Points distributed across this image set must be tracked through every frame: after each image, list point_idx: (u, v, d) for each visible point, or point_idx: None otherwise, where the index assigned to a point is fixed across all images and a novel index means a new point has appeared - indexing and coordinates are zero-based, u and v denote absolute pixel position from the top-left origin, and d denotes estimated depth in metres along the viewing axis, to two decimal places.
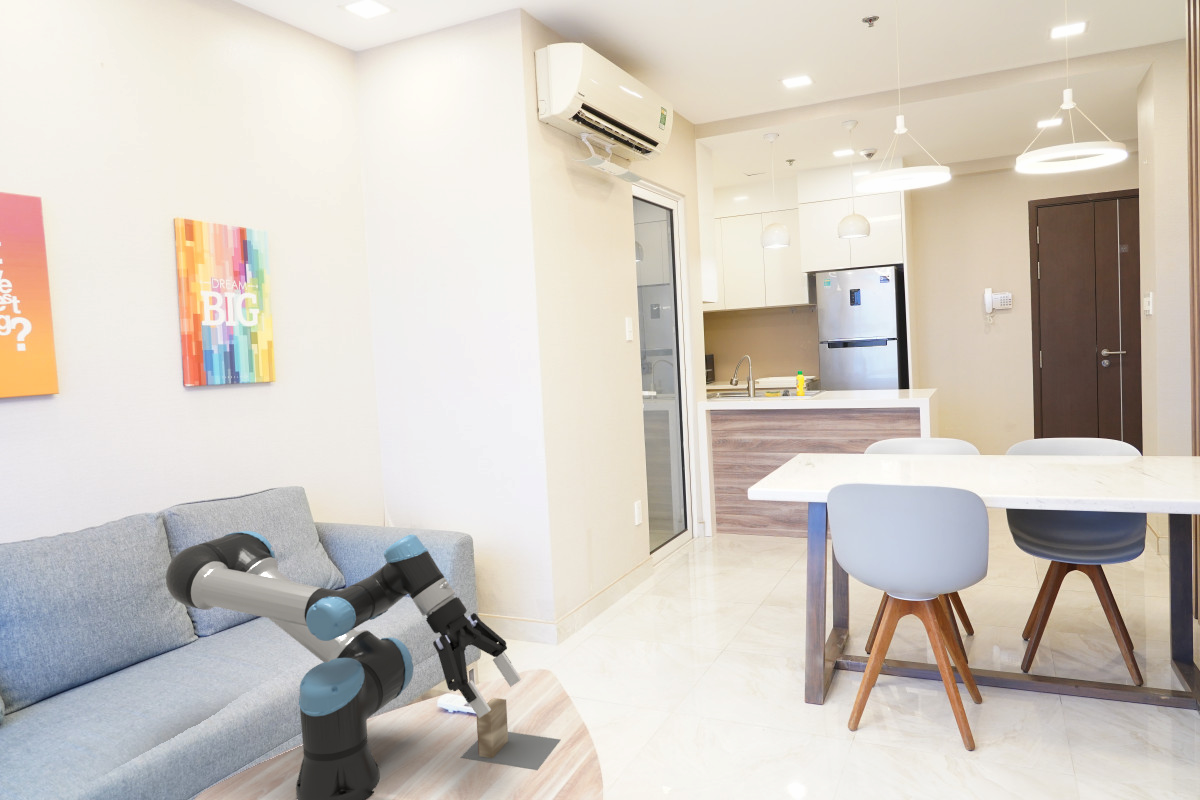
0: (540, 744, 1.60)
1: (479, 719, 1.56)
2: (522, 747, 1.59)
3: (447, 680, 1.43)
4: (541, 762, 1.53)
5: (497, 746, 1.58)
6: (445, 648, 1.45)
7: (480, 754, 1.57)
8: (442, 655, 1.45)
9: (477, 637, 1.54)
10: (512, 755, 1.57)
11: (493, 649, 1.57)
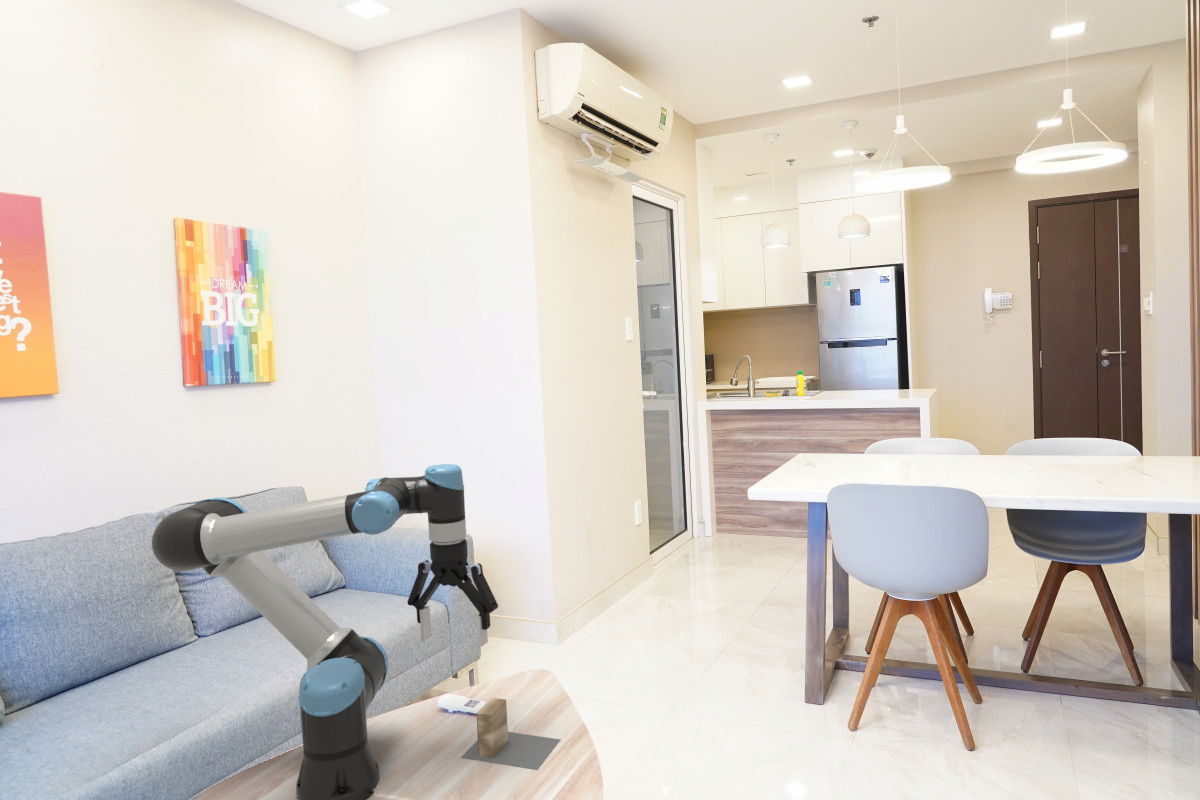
0: (540, 744, 1.60)
1: (479, 719, 1.56)
2: (522, 747, 1.59)
3: (490, 602, 1.56)
4: (541, 762, 1.53)
5: (497, 746, 1.58)
6: (482, 575, 1.58)
7: (480, 754, 1.57)
8: (481, 580, 1.56)
9: None
10: (512, 755, 1.57)
11: (427, 599, 1.62)
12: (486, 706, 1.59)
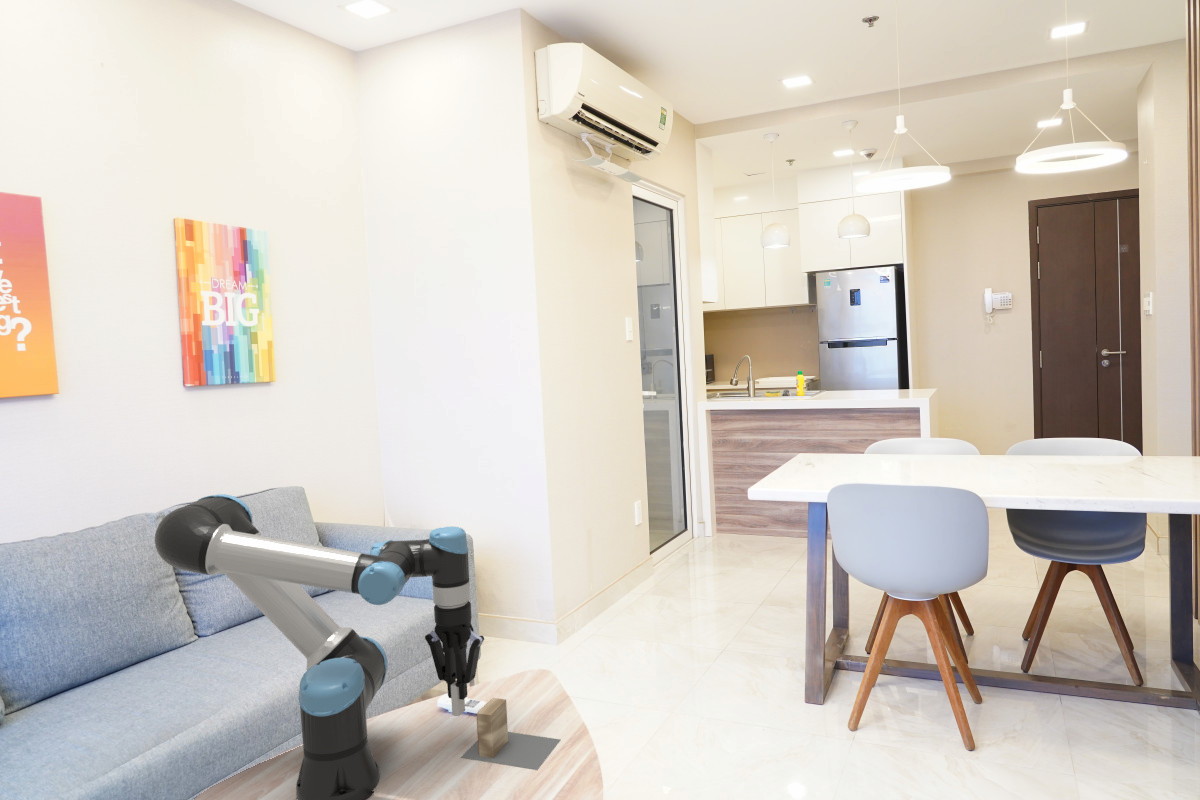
0: (540, 744, 1.60)
1: (479, 719, 1.56)
2: (522, 747, 1.59)
3: (471, 675, 1.59)
4: (541, 762, 1.53)
5: (497, 746, 1.58)
6: (479, 647, 1.60)
7: (480, 754, 1.57)
8: (475, 653, 1.59)
9: None
10: (512, 755, 1.57)
11: (454, 670, 1.62)
12: (486, 706, 1.59)
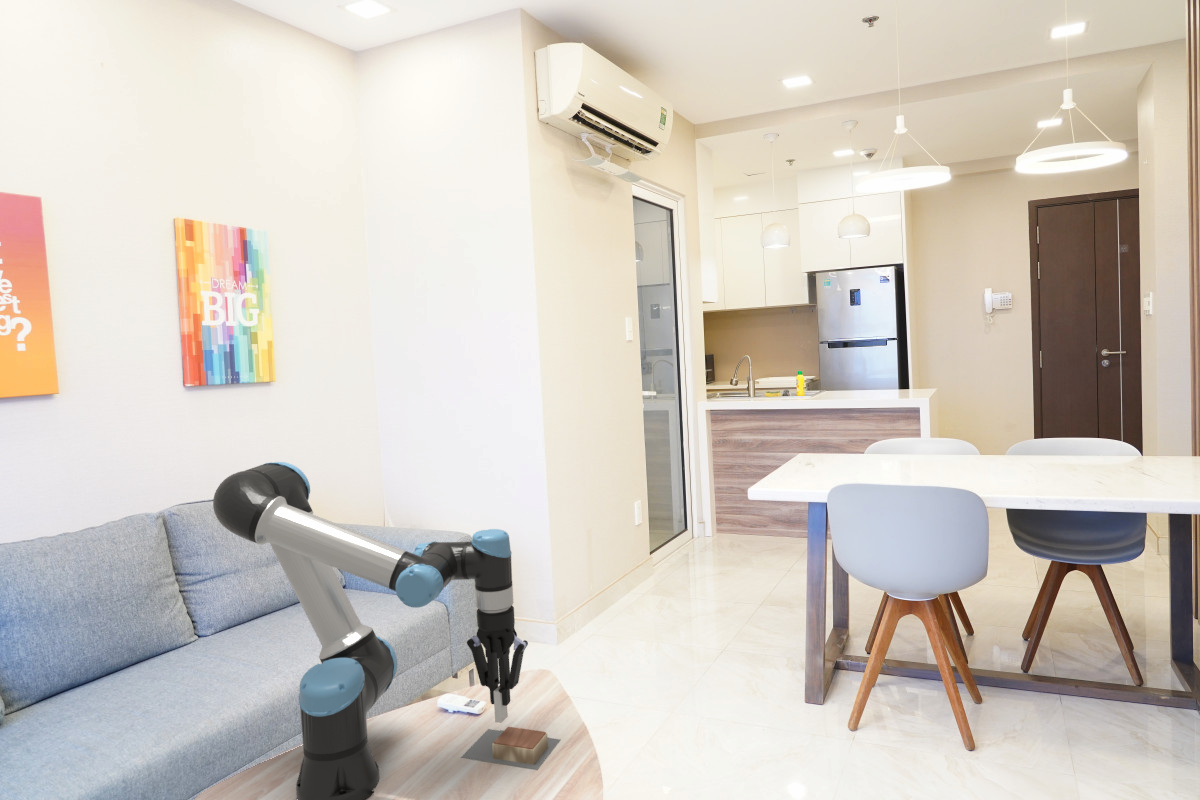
0: None
1: (527, 751, 1.53)
2: None
3: (514, 681, 1.56)
4: (541, 762, 1.53)
5: None
6: (522, 652, 1.56)
7: (493, 744, 1.55)
8: (519, 658, 1.55)
9: None
10: None
11: (497, 675, 1.58)
12: (539, 744, 1.55)
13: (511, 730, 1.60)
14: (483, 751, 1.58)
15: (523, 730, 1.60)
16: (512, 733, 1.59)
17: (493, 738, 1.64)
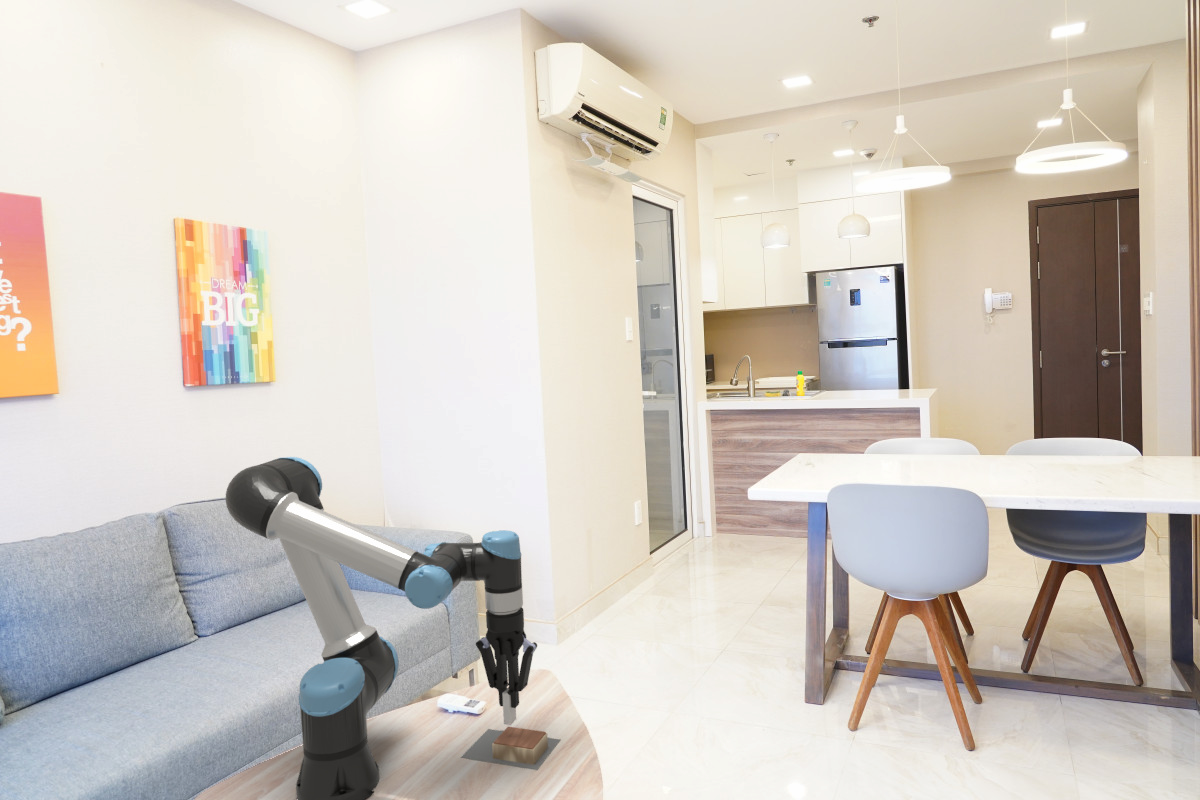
0: None
1: (527, 751, 1.53)
2: None
3: (524, 683, 1.55)
4: (541, 762, 1.53)
5: None
6: (532, 654, 1.56)
7: (493, 744, 1.55)
8: (529, 660, 1.55)
9: None
10: None
11: (505, 677, 1.58)
12: (539, 744, 1.55)
13: (511, 730, 1.60)
14: (483, 751, 1.58)
15: (523, 730, 1.60)
16: (512, 733, 1.59)
17: (493, 738, 1.64)
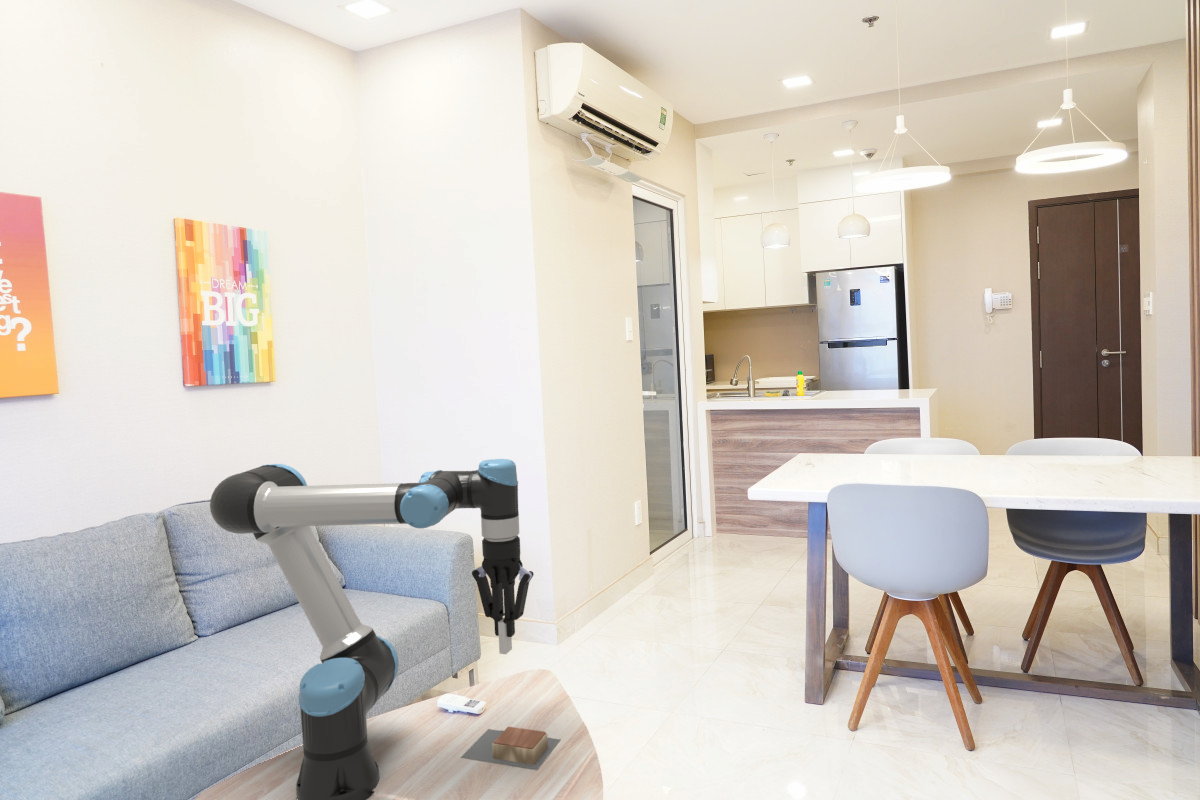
0: None
1: (527, 751, 1.53)
2: None
3: (519, 611, 1.54)
4: (541, 762, 1.53)
5: None
6: (528, 583, 1.55)
7: (493, 744, 1.55)
8: (525, 589, 1.54)
9: None
10: None
11: (501, 607, 1.57)
12: (539, 744, 1.55)
13: (511, 730, 1.60)
14: (483, 751, 1.58)
15: (523, 730, 1.60)
16: (512, 733, 1.59)
17: (493, 738, 1.64)
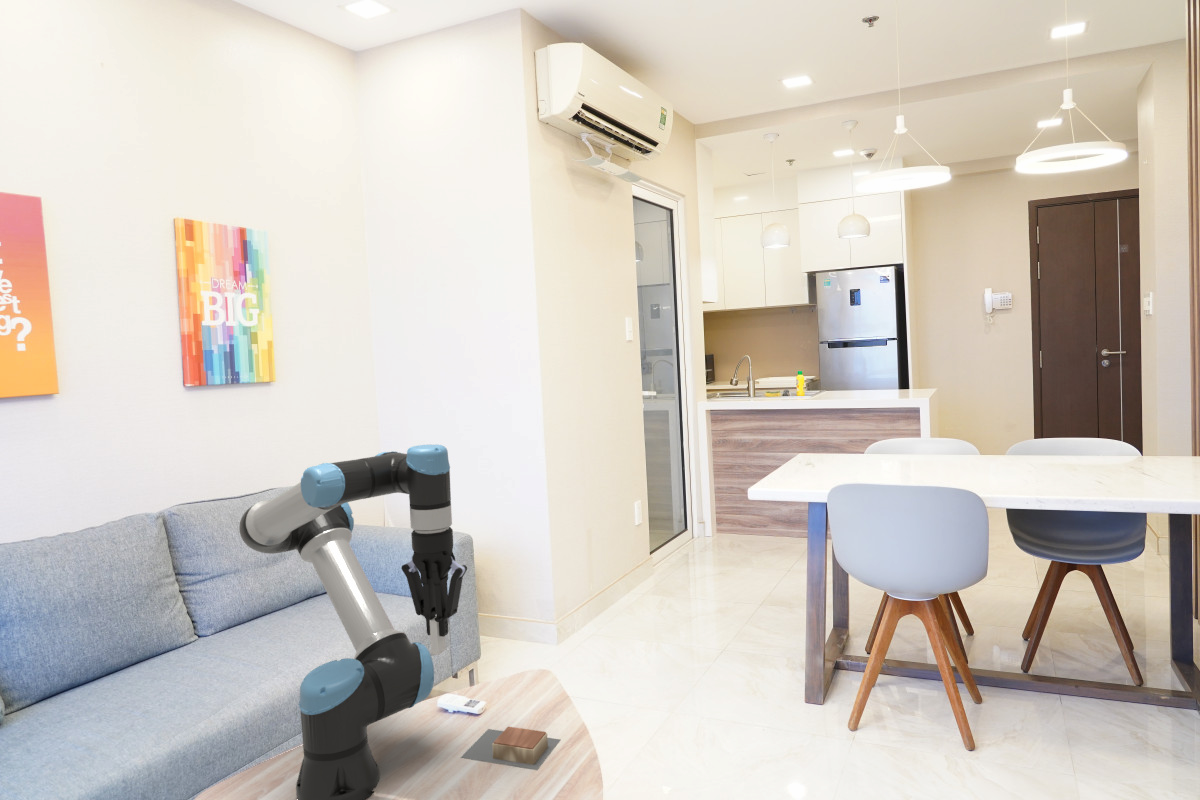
0: None
1: (527, 751, 1.53)
2: None
3: (452, 609, 1.43)
4: (541, 762, 1.53)
5: None
6: (461, 578, 1.43)
7: (493, 744, 1.55)
8: (457, 584, 1.42)
9: None
10: None
11: (434, 604, 1.45)
12: (539, 744, 1.55)
13: (511, 730, 1.60)
14: (483, 751, 1.58)
15: (523, 730, 1.60)
16: (512, 733, 1.59)
17: (493, 738, 1.64)
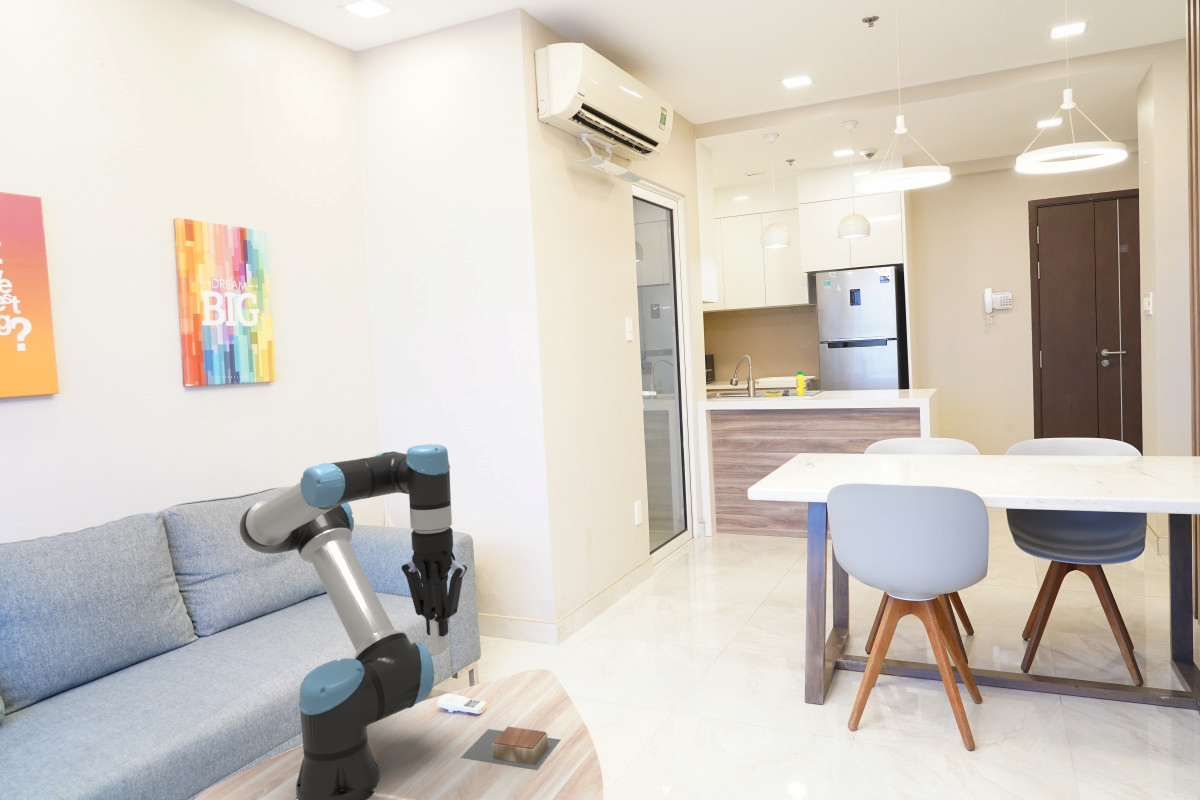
0: None
1: (527, 751, 1.53)
2: None
3: (452, 609, 1.43)
4: (541, 762, 1.53)
5: None
6: (461, 578, 1.43)
7: (493, 744, 1.55)
8: (457, 584, 1.42)
9: None
10: None
11: (434, 604, 1.45)
12: (539, 744, 1.55)
13: (511, 730, 1.60)
14: (483, 751, 1.58)
15: (523, 730, 1.60)
16: (512, 733, 1.59)
17: (493, 738, 1.64)
